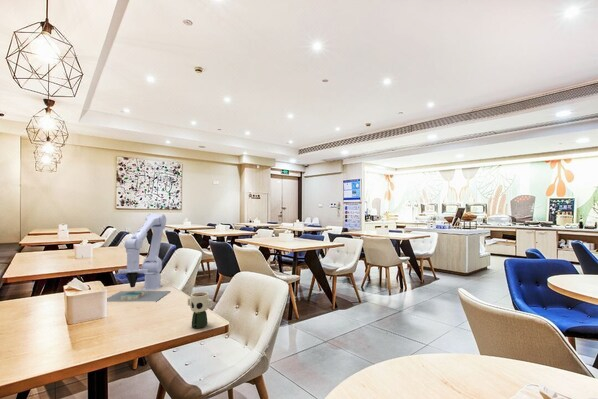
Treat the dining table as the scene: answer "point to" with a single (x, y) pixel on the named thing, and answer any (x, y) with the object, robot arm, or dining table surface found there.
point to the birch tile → (132, 295)
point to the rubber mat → (146, 297)
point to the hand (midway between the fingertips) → (132, 286)
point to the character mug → (199, 308)
